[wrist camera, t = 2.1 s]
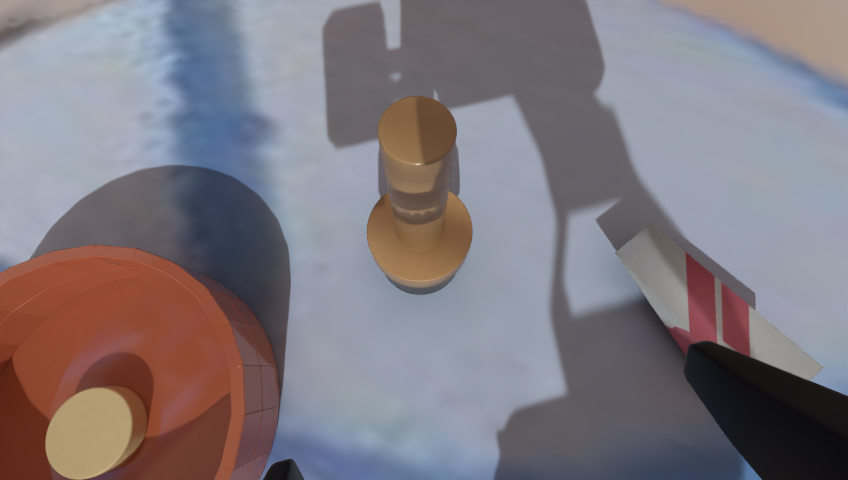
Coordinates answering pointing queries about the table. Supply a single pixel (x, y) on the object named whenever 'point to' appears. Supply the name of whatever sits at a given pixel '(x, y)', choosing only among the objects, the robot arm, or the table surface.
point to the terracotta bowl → (135, 363)
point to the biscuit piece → (95, 432)
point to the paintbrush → (705, 305)
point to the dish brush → (418, 199)
